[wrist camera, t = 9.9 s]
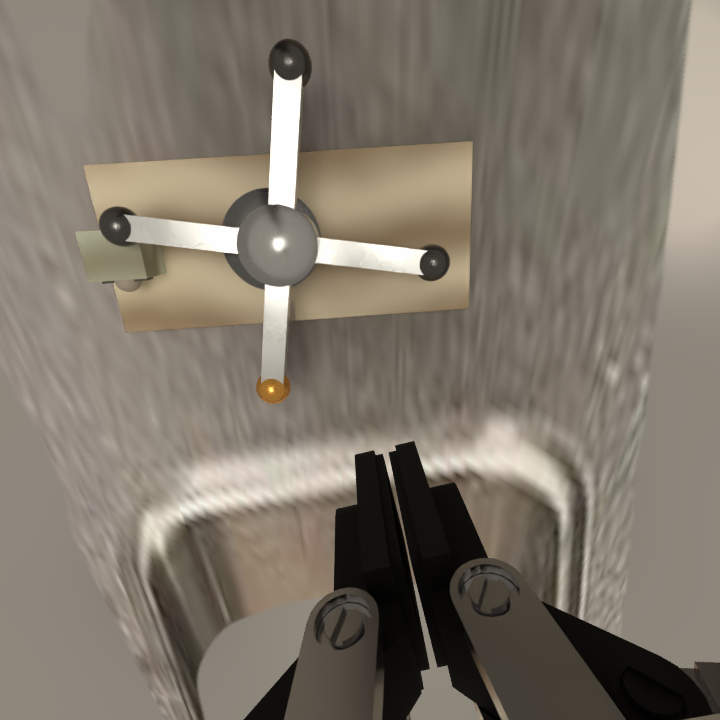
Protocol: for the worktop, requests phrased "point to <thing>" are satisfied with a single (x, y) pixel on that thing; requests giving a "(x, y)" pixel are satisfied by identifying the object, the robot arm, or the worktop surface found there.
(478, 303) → the worktop surface
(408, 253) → the capstan
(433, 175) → the board
